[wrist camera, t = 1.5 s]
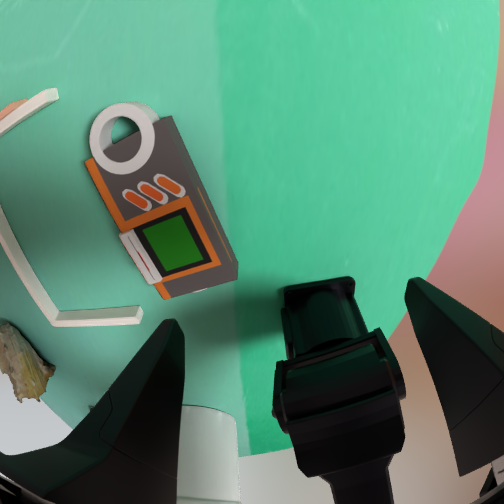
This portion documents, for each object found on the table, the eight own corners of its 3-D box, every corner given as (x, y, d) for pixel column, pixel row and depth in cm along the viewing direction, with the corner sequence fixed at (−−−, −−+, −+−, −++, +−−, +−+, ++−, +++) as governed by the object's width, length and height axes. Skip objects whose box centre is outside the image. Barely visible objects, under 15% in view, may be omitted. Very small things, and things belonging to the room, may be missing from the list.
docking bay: (55, 80, 13) (39, 83, 12) (143, 312, 26) (138, 327, 24) (-27, 141, 14) (-40, 148, 12) (58, 317, 27) (51, 329, 25)
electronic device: (146, 83, 13) (239, 286, 21) (161, 84, 16) (240, 263, 23) (64, 136, 14) (161, 307, 22) (85, 129, 17) (168, 284, 24)
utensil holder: (255, 414, 40) (260, 511, 26) (221, 436, 48) (220, 512, 33) (167, 394, 36) (154, 503, 22) (150, 420, 43) (140, 501, 29)
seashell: (37, 316, 29) (3, 368, 20) (72, 381, 36) (52, 428, 27) (-6, 304, 28) (-39, 346, 20) (28, 366, 35) (7, 406, 26)
